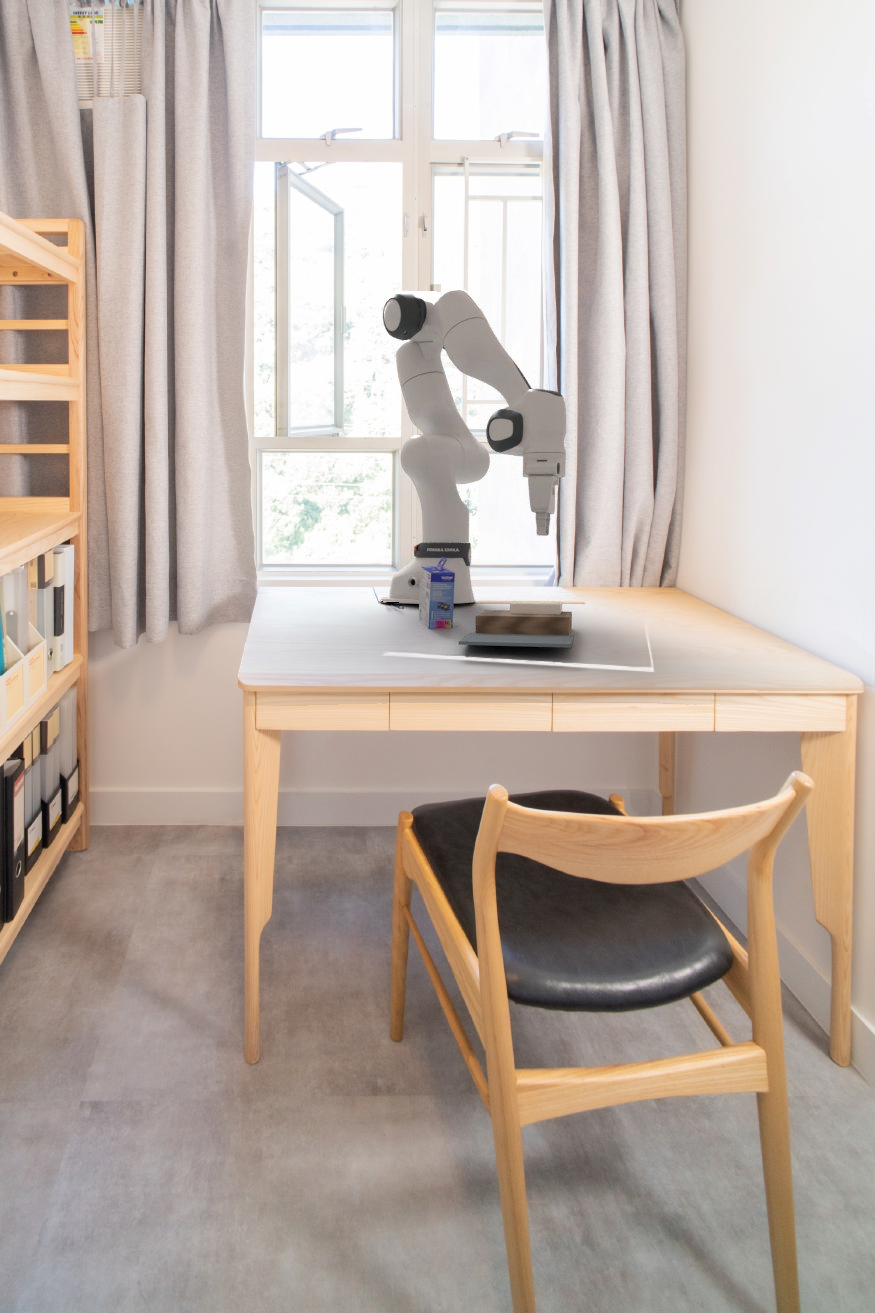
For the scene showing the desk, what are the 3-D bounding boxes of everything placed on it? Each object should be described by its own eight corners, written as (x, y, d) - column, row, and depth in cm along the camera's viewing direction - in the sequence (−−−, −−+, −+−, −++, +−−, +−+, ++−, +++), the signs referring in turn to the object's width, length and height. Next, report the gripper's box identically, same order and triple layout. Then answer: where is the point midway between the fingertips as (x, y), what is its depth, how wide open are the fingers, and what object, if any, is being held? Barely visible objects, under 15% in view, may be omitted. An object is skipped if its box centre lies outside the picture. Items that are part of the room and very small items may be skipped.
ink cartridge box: (454, 631, 194) (456, 561, 190) (428, 632, 192) (429, 561, 189) (443, 622, 203) (444, 554, 200) (417, 622, 202) (418, 554, 198)
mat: (458, 644, 170) (458, 641, 170) (470, 635, 184) (470, 632, 184) (570, 647, 166) (570, 644, 166) (573, 638, 181) (574, 635, 181)
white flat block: (509, 613, 189) (510, 603, 189) (513, 610, 196) (513, 601, 196) (560, 614, 187) (560, 604, 187) (562, 611, 194) (562, 601, 194)
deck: (475, 636, 184) (475, 615, 184) (484, 628, 198) (484, 609, 197) (568, 638, 181) (569, 617, 181) (571, 631, 195) (571, 611, 194)
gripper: (533, 472, 207) (532, 535, 209) (524, 464, 188) (523, 535, 189) (562, 471, 206) (560, 535, 208) (556, 464, 186) (554, 535, 188)
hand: (542, 535), depth 198 cm, fingers open, 8 cm apart
